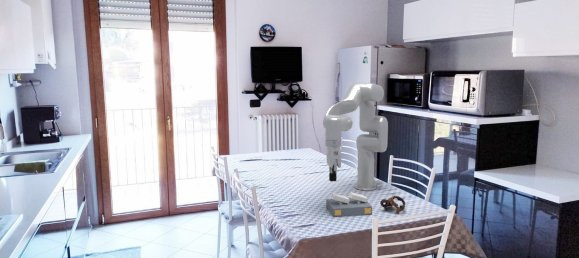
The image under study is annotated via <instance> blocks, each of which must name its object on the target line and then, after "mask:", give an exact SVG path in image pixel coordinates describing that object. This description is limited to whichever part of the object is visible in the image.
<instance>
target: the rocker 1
mask: <svg viewBox="0 0 579 258" xmlns="http://www.w3.org/2000/svg"><path fill="white" fill-rule="evenodd" d="M330 197H331V199H333V200H337V201H341V202H344V203H348V204H349V201H350V199H349V198H350V197H349V196H344V195H342V194H337V193H334V192H332V193H331V195H330Z"/></svg>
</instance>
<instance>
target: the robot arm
mask: <svg viewBox="0 0 579 258" xmlns="http://www.w3.org/2000/svg"><path fill="white" fill-rule="evenodd" d="M384 95H385V91H384V88H383V86H381V85H379V84H376V83H372V82H355V83H352V84H351V85H350V87H348V90H347V91H346V94H345V96H344V97H343V99H341V100H340V101H338V102H337V103H335V104H333V105H331V107H329V109H328V110H327V111H326V113H325V115H324V117H323V120H322V121H323V122H322V126H323V128H324V129H325V140H324V141H325V142H324V143H325V145H324V146H325V147H326V165H327V166H328V171H329V174H328V177H329V178H328V180H329V182H337V180H338V179H337V178H338V177H337V173H338V168H339V169H340V168H341V167H342V152H341V147H342V132H349V131H350V130H351V129H352V127H353V123H354V121H353V120H352V119H353V118H351V117H350V116H349V115H346V114H350V113H353V112H355V111H356V110H358V108H359V115H358V116H359V122H358V123H359V125H358V127H359V130H360V131H361V132H365V133H362V134H359V135H358V136H357V137H356V149H357V174H356V175H357V179H356V180H357V183H355V184H354V189H357V190H360V191H364V192H365V191H374V190H376V189H377V185H383V181H381V180H375V157H374V154H373V152H375V153H384V152H386V151H387V148H388V137H389V136H388V135H389V134H388V133H389V121H388V119H387V117H385V116H383V115H382V116H381V115H376V114H375V112H376V109H375V108H376V107H375V104H374V103H373V102H381V101H382V100H383V99H384ZM368 133H369V134H368ZM370 133H371V134H370ZM372 133H374V134H372ZM375 133H376V134H375Z"/></svg>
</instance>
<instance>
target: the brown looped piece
mask: <svg viewBox="0 0 579 258" xmlns="http://www.w3.org/2000/svg"><path fill="white" fill-rule="evenodd" d="M395 199H396V200H397V201H399V202H401V203H402V205H399V204H398V203H397V202H395ZM379 203H380V206H381V207H382V208H383V209H384V210H387V209H388V207H390V208H393V207H394V208H395V209H396V210H395V214H397V215H399V214H400V212H403V211H404V210H405V207H406V201H405V200H404V199H403V198H402V197H400V196H398V195H392V196H391V197H389V198H388V199H386V198H383V199H381V200H380V201H379Z"/></svg>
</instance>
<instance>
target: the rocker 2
mask: <svg viewBox="0 0 579 258" xmlns="http://www.w3.org/2000/svg"><path fill="white" fill-rule="evenodd" d="M348 197H349V198H351V199H355V200H359V201H363V202H366V203H367V202H368V198H367V197H366V195H363V194H359V193H355V192H352V191H350V192H349V193H348Z"/></svg>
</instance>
